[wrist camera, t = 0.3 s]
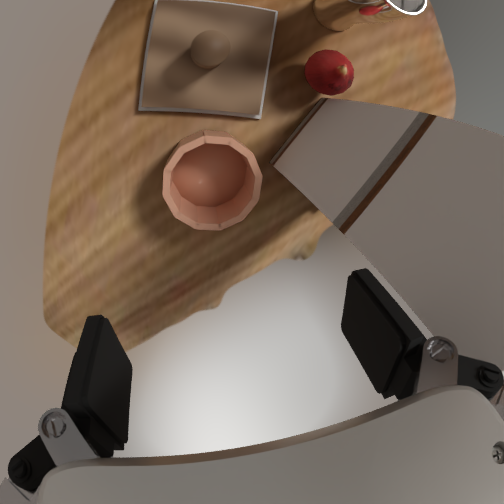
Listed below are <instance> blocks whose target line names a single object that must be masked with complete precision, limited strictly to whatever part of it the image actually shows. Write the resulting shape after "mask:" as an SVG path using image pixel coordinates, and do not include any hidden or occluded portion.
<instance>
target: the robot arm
mask: <svg viewBox="0 0 504 504" xmlns="http://www.w3.org/2000/svg"><path fill="white" fill-rule="evenodd" d="M341 328H342V332H343V334H344V336H345V337H346V339H347V341H348V342H349V344H350V346H351V348H352V349H353V351H354V353H355V355H356V356H357V358H358V360H359V361H360V363H361V365H362V367H363V368H364V370H365V372H366V374H367V375H368V377H369V379H370V381H371V383H372V384H373V386H374V388H375V390H376V391H377V393H379V394H380V393H381V394H382V395H383V397H384V399H386V398H388V397H391V396H393V395H395V396H396V398H397V399H398V401H397V402H395V403H392V404H390V405H387V406H385V407H382V408H380V409H377V410H374V411H372V412H369V413H366V414H363V415H361V416H358V417H355V418H353V419H350V420H347V421H344V422H341V423H337V424H334V425H331V426H328V427H325V428H322V429H318V430H315V431H311V432H307V433H304V434H300V435H296V436H292V437H288V438H284V439H280V440H275V441H271V442H267V443H262V444H257V445H252V446H246V447H240V448H235V449H228V450H222V451H214V452H207V453H199V454H187V455H175V456H159V457H135V458H134V457H133V458H114V457H113V453H114V450H124V443H127V441H128V425H129V407H130V393H131V381H132V365H131V362H130V360H129V359H128V357H127V355H126V353H125V351H124V349H123V347H122V345H121V344H120V342H119V340H118V338H117V336H116V334H115V332H114V330H113V328H112V326H111V324H110V322H109V320H108V319H107V318H104V317H103V316H102V315H95V316H88V317H87V319H86V322H85V325H84V328H83V332H82V335H81V338H80V341H79V345H78V348H77V352H76V353H75V355H74V357H73V361H72V364H71V368H70V372H69V376H68V380H67V384H66V388H65V392H64V397H63V401H62V406H61V408H53V409H50V410H48V411H46V412H45V413H44V414H43V415H42V417H41V418H40V420H39V424H38V431H39V434H40V435H38V436H37V437H36V438H35V439H34V440H32V441H31V442H30V443H29V444H28V445H26V446H25V447H24V448H23V449H22V450H20V451H19V452H18V453H17V454H15V455H14V456H13V457H12V458H11V460H10V462H9V465H8V474H9V479H7V478H5V479H4V480H3V482H2V484H1V485H0V504H504V376H503V373H502V371H501V370H500V369H499V367H497V366H496V365H495V364H492V363H489V362H485V361H482V360H478V359H474V358H470V357H466V356H463V355H459V354H458V350H457V347H456V346H455V344H454V343H453V342H452V341H451V340H449V339H447V338H445V337H442V336H434V337H431V338H429V339H428V340H427V339H426V338H425V337H424V335H423V334H422V333H421V331H420V330H419V329H418V328H417V326H416V325H415V324H414V323H413V322H412V320H411V319H410V318H409V317H408V315H407V314H406V313H405V312H404V311H403V309H402V308H401V307H400V306H399V305H398V303H397V302H396V301H395V300H394V299H393V298H392V297H391V295H390V294H389V293H388V292H387V291H386V289H385V288H384V287H383V286H382V285H381V284H380V283H379V281H378V280H377V279H376V278H375V277H374V276H373V274H372V273H371V272H370V271H369V270H368V269H366V268H365V269H360V270H355V271H353V272H352V274H351V275H350V276H349V277H348V281H347V288H346V296H345V303H344V309H343V316H342V322H341Z"/></svg>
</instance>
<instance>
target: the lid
mask: <svg viewBox="0 0 504 504" xmlns="http://www.w3.org/2000/svg"><path fill="white" fill-rule="evenodd" d="M275 14H276V12H274V11H269V10H264V9H259V8H253V7H247V6H240V5H233V4H225V3H216V2H205V1H189V0H158V2H157V7H156V11H155V16H154V21H153V26H152V32H151V38H150V43H149V50H148V56H147V63H146V70H145V78H144V87H143V96H142V106H141V107H167V108H189V109H204V110H216V111H227V112H236V113H245V114H253V115H259V113H260V106H261V100H262V94H263V87H264V81H265V75H266V69H267V62H268V56H269V50H270V44H271V38H272V32H273V26H274V20H275Z"/></svg>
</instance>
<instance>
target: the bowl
mask: <svg viewBox="0 0 504 504" xmlns="http://www.w3.org/2000/svg"><path fill="white" fill-rule="evenodd" d="M262 178H263V177H262V173H261V171H260V168H259V166H258V164H257V161H256V159H255V156H254V154H253V153H252V152H251V151H250V150H249V149H248V148H247V147H246V146H245V145H244V144H243V143H241V142H240V141H238V140H237V139H236V138H234V137H233V136H231V135H230V134H229V133H227V132H223V131H211V130H203V131H202V130H201V131H199V132H197V133H195V134H193V135H190V136H188V137H186V138H184V139H182V140H181V141H180V142H179V143H178V145H177V146H176V148H175V149H174V151H173V152H172V154H171V155H170V156H169V158H168V160H167V162H166V165H165V168H164V173H163V197H164V199H165V201H166V203H167V205H168V206H169V208H170V210H171V212H172V214H173V215H174V217H175V218H177V219H179V220H180V221H182V222H184V223H185V224H187V225H189V226H191V227H192V228H194V229H196V230H219V231H220V229H221V230H223V229H225V228H227V227H230V226H232V225H234V224H236V223H238V222H241V221H243V220H244V219H245V218H246V216H247V215H248V214H249V213H250V211H251V210H252V209H253V207H254V206H255V205H256V204H257V202H258V200H259V197H260V190H261V184H262Z"/></svg>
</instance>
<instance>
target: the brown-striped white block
mask: <svg viewBox="0 0 504 504" xmlns="http://www.w3.org/2000/svg"><path fill="white" fill-rule="evenodd" d="M269 163H270V164H271V165H273V166H274V167H275V168H276V169H277V170H278V171H279V172H280V173H281V174H282V175H283V176H285V177H286V178H287V179H288V180H289V181H290V182H291V183H292V184H293V185H294V186H295V187H296V188H297V189H298V190H299V191H301V192H302V193H303V194H304V195H305V196H306V197H307V198H308V199H309V200H310V201H311V202H312V203H313V204H314V205H315V206H316V207H317V208H318V209H319V210H320V211H321V212H322V213H323V214H324V215H325V216H326V217H327V218H328V219H329V220H330V221H331V222H332V223H333V224H334V225H335V226H336V227H337V228H338V229H339V230H340V231H341V232H342V233H343V234H344V235H345V236H346V237H347V238H348V239H349V240H350V241H351V242H352V243H353V244H354V245H355V247H356V248H357V249H358V250H359V251H360V252H361V253H362V254H363V255H364V256H365V257H366V258H367V259H368V260H369V261H370V262H371V264H372V265H373V266H374V267H375V268H376V269H377V270H378V271H379V272H380V274H382V276H383V277H384V278H385V279H386V280H387V281H388V282H389V283H390V285H391V286H392V287H393V288H394V289H395V290H396V292H397V293H398V294H399V295H400V296H401V297H402V298H403V300H404V301H405V302H406V303H407V304H408V305H409V307H410V308H411V309H412V310H413V311H414V313H415V314H416V315H417V316H418V317H419V319H420V320H421V321H422V322H423V323H424V325H425V326H426V327H427V328H428V329H429V331H430V332H431V333H432V334H433V336H442V337H445V338H447V339H449V340H451V341H452V342H453V343H454V344H455V346H456V347H457V350H458V354H459V355H463V356H466V357H470V358H474V359H478V360H482V361H485V362H489V363H492V364H495V365H496V366H497V367H499V369H500V370H501V371H502V373H503V376H504V136H502V135H499V134H497V133H494V132H491V131H488V130H485V129H482V128H479V127H475V126H472V125H469V124H465V123H461V122H458V121H455V120H451V119H447V118H443V117H439V116H435V115H431V114H427V113H422V112H418V111H413V110H408V109H403V108H397V107H392V106H386V105H380V104H373V103H366V102H359V101H350V100H341V99H331V98H321V99H320V101H319V102H318V103H317V104H316V105H315V107H314V108H313V109H312V110H311V111H310V113H309V114H308V115H307V116H306V117H305V119H304V120H303V121H302V122H301V123H300V125H299V126H298V127H297V128H296V130H295V131H294V132H293V133H292V135H291V136H290V137H289V138H288V140H287V141H286V142H285V143H284V145H283V146H282V147H281V148H280V150H279V151H278V152H277V153H276V155H275V156H274V157H273V158H272V160H271V161H270V162H269Z"/></svg>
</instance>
